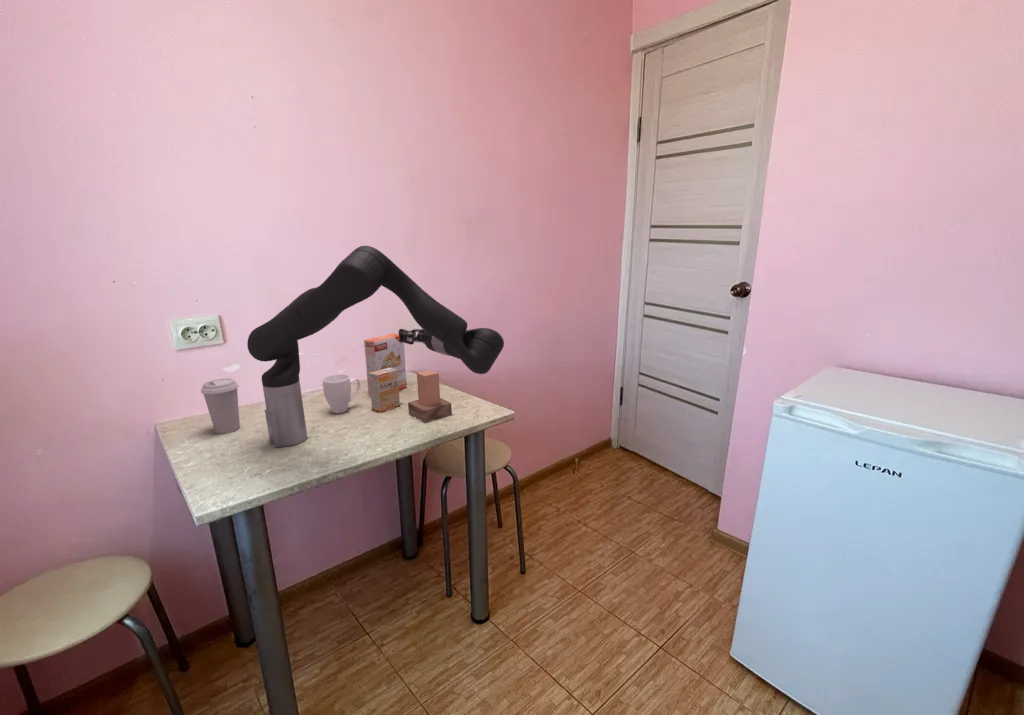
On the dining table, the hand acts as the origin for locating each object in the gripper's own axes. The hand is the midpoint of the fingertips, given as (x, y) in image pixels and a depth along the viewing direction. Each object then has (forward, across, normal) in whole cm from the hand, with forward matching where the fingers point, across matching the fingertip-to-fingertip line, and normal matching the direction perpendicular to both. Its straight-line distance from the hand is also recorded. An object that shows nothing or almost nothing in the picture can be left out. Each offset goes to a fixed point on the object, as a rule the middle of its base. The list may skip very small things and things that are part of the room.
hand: (414, 330), depth 131 cm
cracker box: (+38, -8, +30) cm, 49 cm away
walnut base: (+8, -8, +30) cm, 32 cm away
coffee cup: (+39, +44, +30) cm, 66 cm away
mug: (+31, +11, +30) cm, 45 cm away
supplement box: (+23, 0, +30) cm, 38 cm away
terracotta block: (+8, -8, +26) cm, 28 cm away
